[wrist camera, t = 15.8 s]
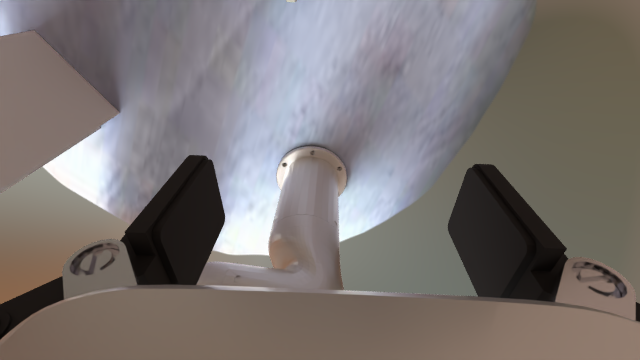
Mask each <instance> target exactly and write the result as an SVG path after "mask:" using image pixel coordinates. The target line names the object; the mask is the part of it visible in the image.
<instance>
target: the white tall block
mask: <svg viewBox="0 0 640 360" xmlns="http://www.w3.org/2000/svg"><path fill="white" fill-rule="evenodd" d="M119 113H120V112H119V111H118V110H117V109H115V108H114V107H113V106H112V105H111V104H110V103H109V102H108V101H107V100H106V99H105V98H104V97H103V96H102V95H101V94H100V93H99V92H98V91H97V90H96V89H95V88H94V87H93V86H92V85H91V84H89V83H88V82H87V81H86V80H85V79H84V78H83V77H82V76H81V75H80V74H79V73H78V72H77V71H76V70H75V69H74V68H73V67H72V66H71V65H70V64H69V63H68V62H67V61H66V60H65V59H63V58H62V57H61V56H60V55H59V54H58V53H57V52H56V51H55V50H54V49H53V48H52V47H51V46H50V45H49V44H48V43H47V42H46V41H45V40H44V39H43V38H42V37H41V36H40V35H39V34H37V33H36V32H35V31H34V30H32V31H26V32H21V33H15V34H10V35H4V36H0V194H1V193H2V192H4V191H5V190H7V189H8V188H10V187H11V186H13V185H14V184H16V183H17V182H19V181H21V180H22V179H24V178H25V177H27V176H28V175H30V174H31V173H33V172H34V171H36V170H37V169H39V168H40V167H42V166H43V165H45V164H47V163H48V162H50V161H51V160H53V159H54V158H56V157H57V156H59V155H60V154H62V153H63V152H65V151H66V150H68V149H70V148H71V147H73V146H74V145H76V144H77V143H79V142H80V141H82V140H83V139H85V138H86V137H88V136H89V135H91V134H93V133H94V132H96V131H97V130H99V129H100V127H99V126H101V125H102V124H104V123H105V122H107V121H109V120H110V119H112V118H113V117H115V116H116V115H118V114H119Z"/></svg>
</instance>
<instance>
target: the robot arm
mask: <svg viewBox="0 0 640 360" xmlns="http://www.w3.org/2000/svg"><path fill="white" fill-rule="evenodd" d="M339 166H340V167H339ZM276 176H277V183H278V186H279V188H280V190H281V193H280V197H279V201H278V205H277V209H276V213H275V217H274V221H273V225H272V229H271V233H270V238H269V244H268V249H269V256H270V260H271V262H272V265H273V267H274V268H266V267H258V266H251V265H243V264H235V263H226V262H209V263H206V262H207V260H208V258H209V256H210V254H211V251H212V249H213V247H214V245H215V243H216V240H217V238H218V236H219V234H220V232H221V229H222V227H223V225H224V222H225V213H224V209H223V205H222V200H221V196H220V191H219V187H218V183H217V178H216V174H215V169H214V165H213V162H212V160H208V158H207V157H206V156H200V155H189V156H188V157H187V158H186V159H185V160H184V162H183V163H182V164H181V165H180V166H179V168H178V169H177V170H176V171H175V172H174V174H173V175H172V176H171V177H170V178H169V180H168V181H167V182H166V183H165V184H164V186H163V187H162V188H161V189H160V190H159V192H158V193H157V194H156V195H155V196H154V198H153V199H152V200H151V201H150V202H149V204H148V205H147V206H146V207H145V208H144V209H143V211H142V212H141V213H140V214H139V215H138V217H137V218H136V219H135V220H134V221H133V223H132V224H131V225H130V226H129V227H128V229H127V230H126V231H125V235H124V237H123V238H122V239H121V240H120V241H119V240H116V239H106V240H100V241H97V242H94V243H91V244H89V245H86V246H84V247H83V248H81V249H79V250H78V251H76V252H75V253H74V254H73V255H72V256H71V257H70V258H69V259H68V260H67V261H66V263H65V264H64V266H63V271H62V275H63V276H62V277H59V278H57V279H55V280H53V281H51V282H49V283H46V284H44V285H42V286H40V287H37V288H35V289H33V290H31V291H29V292H27V293H24V294H22V295H20V296H18V297H16V298H13V299H11V300H9V301H7V302H5V303H3V304H0V360H640V304H639V303H637V302H636V295H635V291H634V289H633V287H632V286H631V284H630V283H629V282H628V281H627V280H626V279H625V278H624V277H623V276H622V275H621V274H620V273H618V272H616V271H615V270H614V269H612V268H610V267H609V266H607V265H605V264H603V263H601V262H598V261H595V260H592V259H589V258H583V257H573V258H570V259H568V258H567V257H566V255H564V252H565V251H566V249H567V248H566V247H565V246H564V245H563V244H562V243H561V242H560V240H559V239H558V238H557V237H556V236H555V235H554V233H553V232H552V231H551V230H550V229H549V228H548V227H547V225H546V224H545V223H544V222H543V221H542V220H541V219H540V217H539V216H538V215H537V214H536V213H535V212H534V211H533V209H532V208H531V207H530V206H529V205H528V204H527V203H526V201H525V200H524V199H523V198H522V197H521V196H520V195H519V193H518V192H517V191H516V190H515V189H514V188H513V187H512V186H511V184H510V183H509V182H508V181H507V180H506V178H505V177H504V176H503V175H502V174H501V173H500V172H499V170H498V169H497V168H496V167H495V166H494V165H489V164H487V165H486V164H475V165H474V166H473V167H472V168H469V169H468V170H467V172H466V175H465V177H464V181H463V183H462V186H461V189H460V191H459V194H458V197H457V200H456V203H455V206H454V208H453V211H452V214H451V217H450V220H449V223H448V231H449V234H450V236H451V238H452V240H453V243H454V245H455V247H456V249H457V251H458V253H459V256H460V258H461V260H462V262H463V264H464V267H465V269H466V271H467V273H468V275H469V277H470V280H471V282H472V284H473V286H474V288H475V290H476V293H477V295H478V297H476V296H455V295H434V294H414V293H392V292H370V291H346V290H344V287H343V282H342V276H341V269H340V254H339V210H338V197H339V196H340V195H341V194H342V192H343V191H344V189H345V186H346V182H347V174H346V169H345V166H344V164H343V162H342V161H341V160H340V158H339V157H338V156H337V155H335V154H334V153H333V152H331V151H329V150H327V149H325V148H321V147H316V146H304V147H300V148H296V149H294V150H292V151H290V152H289V153H287V154H286V155H285V156H284V157H283V158H282V160H281V161H280V163H279V166H278V169H277V174H276Z"/></svg>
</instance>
